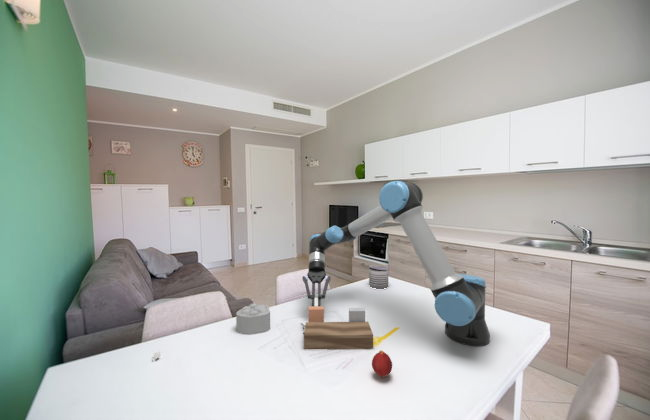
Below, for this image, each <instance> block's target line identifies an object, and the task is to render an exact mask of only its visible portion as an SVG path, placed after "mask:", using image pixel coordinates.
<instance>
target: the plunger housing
mask: <svg viewBox="0 0 650 420" xmlns="http://www.w3.org/2000/svg"><path fill="white" fill-rule="evenodd" d="M304 349H327V350H374V333H373V331H372V329H371V325H370V323H369V321H365V322H349V321H324V322H309V321H306V322H305V324H304V333H303V350H304Z"/></svg>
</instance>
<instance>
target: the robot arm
mask: <svg viewBox="0 0 650 420" xmlns="http://www.w3.org/2000/svg"><path fill="white" fill-rule="evenodd" d="M423 199H424V195H423V191H422V189H421V188H420V186H419V185H417V184H416V183H414V182H410V181H409V182H408V181H406V182H405V181H401V180H395V181H394V180H393V181H390V182H388V183H386V184H385V185H383V187H382V188H381V189H380V192H379V195H378V201H379V206H377V207H375V208H373V209H372V210H370V211H368V212H367V213H365V214H363V215H362V216H360V217H359V218H357V219H355V220H353V221H352V222H350V223H348V224H346V225H345V226H343V227H339V226H337V225H332V226H331V227H329V228H327V229H326V230H324V232H322V233H315V234H312V235H311V236H310V237H309V243H308V245H309V247H308V248H309V249H308V251H309V253H308V270H307V271H308V272H307V274H306V275H305V276H304V275H303V276H302V281H303V283H304V286H305V290H306V294H307V295H306V296H307V299H310V300H311V306H322V300H324V299H325V298H326V294H327V291H328V288H329V287H328V286H329V283H330V282H331V278H332V277H331V276H330V275H329V276H328V275H327V273H326V267H325V266H326V265H325V264H326V262H325V261H326V259H325V254H326V250H328V249H330V248H331V247H333V246H335V245H338V244H344V243H351V242H353V241H355V240H356V239H357V238H358V237H359V236H361V235H364V234H365V233H367V232H368V231H370V230H372V229H374V228H376V227H378V226H379V225H382V224H383V223H385V222H387V221H389V220H390V219H392V220H393V221H394V222H396V223H398V224H400V225H401V228H402V229H403V231H404V233H405V235H406V237H407V240H408V241H409V242H410V244H411V246H412V248H413V251H414V252H415V254H416V255H417V257H418V260H419V261H420V263H421V265H422V267H423V269H424V271H425V273H426V275H427V277H428V278H429V280H430V282H431V287H430V292H431V293H432V295H433V297H434V309H435V312H436V313H437V315H438V317H439V318H440V319H441V320H442V321H443V322H445V325H444V333H445V334H446V336H447V337H448V338H449V339H451V340H453V341H455V342H457V343H460V344H463V345H467V346H472V347H473V346H474V347H475V346H476V347H481V346H486V345H488V344H489V343H490V341H491V340H490V339H491V337H490V336H491V335H490V334H491V333H490V332H489V331H490V330H489V327H488V325H487V321H486V319H485V318H486V289H487V285H486V280H485V279H484V278H482V277H480V276H476V275H471V274H462V273H456V272H455V270H454V268H453V267H452V264H451V262H450V261H449V259H448V257H447V256H446V254H445V252H444V250H443V248H442V247H441V245H440V243H439V242H438V240H437V238H436V236H435V234H434V232H433V231H432V229H431V228H430V226H429V224H428V222H427V221H426V219H425V216H424V215H423V212H422V211H423V207H424V206H423V205H422V202H423ZM308 280H309V281H310V282H311V292H310V287H309V286H310V285H309V281H308ZM323 281H325V282H324V286H323V289H322V282H323ZM316 284H317V297H316V292H315V291H316ZM321 290H322V291H321Z"/></svg>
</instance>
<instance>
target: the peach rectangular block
mask: <svg viewBox="0 0 650 420" xmlns="http://www.w3.org/2000/svg"><path fill="white" fill-rule="evenodd" d="M308 322H325V306H323V305H321V306H312V305H310V306H308Z"/></svg>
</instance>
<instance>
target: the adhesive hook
mask: <svg viewBox="0 0 650 420" xmlns="http://www.w3.org/2000/svg"><path fill="white" fill-rule="evenodd" d="M162 352H163V350H162V349H161V350H158V351H155V352H154V353H153V355H152V358H151V361H152V363H154V362H156V360H157V359H158V361H160V360H162V359H163V355H161V353H162Z"/></svg>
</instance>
